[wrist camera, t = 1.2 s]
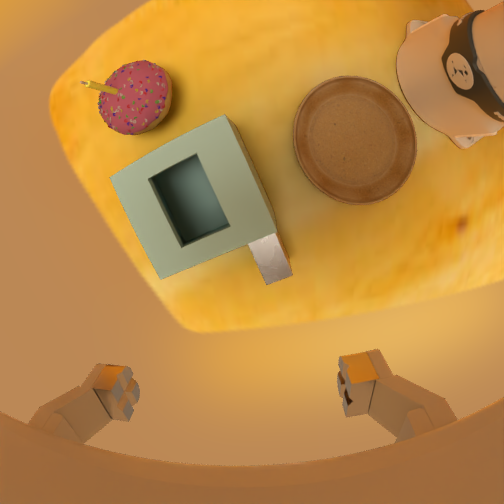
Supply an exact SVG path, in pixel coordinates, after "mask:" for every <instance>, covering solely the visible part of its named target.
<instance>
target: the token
mask: <svg viewBox="0 0 504 504" xmlns="http://www.w3.org/2000/svg"><path fill="white" fill-rule="evenodd" d="M248 246H249V248H250V250H251V252H252V255H253V257H254V259H255V261H256V263H257V265H258V268H259V270H260V272H261V274H262V276H263V278H264V281H265V283H266V285H268V284H271V283H273V282H276V281H279V280H281V279H284V278H287V277H289V276H292V275H293V274H292V269H291V265H290V260H289V257H288V255H287V252H286V250H285V248H284V245H283V243H282V240H281V238H280V236H279V233H278V231H277V232H276V233H274V234H271V235H269V236H266V237H264V238H261V239H259V240H256V241H254V242H251V243H249V244H248Z"/></svg>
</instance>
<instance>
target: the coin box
mask: <svg viewBox="0 0 504 504" xmlns="http://www.w3.org/2000/svg"><path fill="white" fill-rule="evenodd" d="M110 179H111V182H112V184H113V186H114V188H115V191H116V193H117V195H118V197H119V199H120V202H121V204H122V206H123V208H124V210H125V212H126V214H127V216H128V218H129V220H130V222H131V224H132V227H133V229H134V231H135V233H136V234H137V236H138V238H139V240H140V242H141V244H142V246H143V248H144V250H145V252H146V254H147V256H148V258H149V259H150V261H151V263H152V265H153V267H154V269H155V270H156V272H157V274H158V276H159V278H160V279H164V278H166V277H169V276H171V275H173V274H176V273H178V272H181V271H183V270H185V269H188V268H190V267H193V266H195V265H198V264H200V263H202V262H205V261H207V260H210V259H212V258H215V257H217V256H220V255H222V254H224V253H227V252H229V251H232V250H234V249H237V248H239V247H242V246H244V245H246V244H249V243H251V242H254V241H256V240H259V239H261V238H264V237H266V236H269V235H271V234H274V233H276V232H277V227H276V220H275V214H274V211H273V208H272V206H271V204H270V201H269V199H268V197H267V194H266V192H265V190H264V187H263V185H262V183H261V181H260V178H259V176H258V174H257V172H256V169H255V167H254V165H253V163H252V160H251V158H250V156H249V154H248V151H247V149H246V147H245V145H244V143H243V141H242V138H241V136H240V134H239V132H238V130H237V127H236V125H235V124H234V123H233V122H232V121H231V120H230V119H229V118H228V117H227V116H226V115H225V114H224V115H222V116H220V117H218V118H216V119H214V120H211V121H209V122H207V123H205V124H203V125H201V126H199V127H197V128H195V129H193V130H191V131H189V132H187V133H185V134H183V135H181V136H179V137H177V138H176V139H174V140H172V141H170V142H168V143H166V144H164V145H163V146H161V147H159V148H157V149H156V150H154V151H152V152H150V153H149V154H147V155H145V156H143V157H142V158H140V159H138V160H137V161H135V162H133V163H132V164H130V165H129V166H127V167H125V168H124V169H122V170H121V171H119V172H117V173H116V174H114V175H113V176H111V177H110Z"/></svg>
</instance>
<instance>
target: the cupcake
mask: <svg viewBox="0 0 504 504" xmlns="http://www.w3.org/2000/svg"><path fill="white" fill-rule="evenodd" d="M80 83H82V84H85V86H86V87H88V88H92V89H96V90H100V91H101V92H100V96H99V97H100V98H99V99H100V100H99V102H98V103H99V104H98V105H99V107H98V108H99V109H100V111H99V113H100V114H101V116H102V118H103V119H104V122H106V123H107V124H108V127H109V128H111V129H113V130H115V131H116V132H118V133H122V134H125V135H128V134H130V135H138V134H141V133H144V132H146V131H149V130H152V129H154V128H155V127H156V126H157V125H158V124H159V123H160V122H161V121H162V120H163V119H164V118H165V117H166V115H167V114H168V112H169V109H170V106H171V100H172V80H171V78H170V76H169V74H168V73H167V72H166V71H165V70H164V69H163V68H161V67H159V66H157V65H156V64H155V63H151V62H149V61H146V60H143V61H136V62H132V63H129V64H125V65H122V67H121V68H119V69H117V70H116V71H114V72H113V74H112V75H111V76H110V77H109V78H108V80H107V81H105V84H104V85H103V84H100V83H96V82H93V81H89V80H88V81H87V82H83V81H80Z"/></svg>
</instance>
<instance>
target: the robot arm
mask: <svg viewBox="0 0 504 504" xmlns="http://www.w3.org/2000/svg"><path fill="white" fill-rule="evenodd" d="M396 65H397V75H398V79H399V83H400V86H401V88H402V91H403V93H404V95H405V97H406V99H407V101H408V102H409V104H410V105H411V107H412V108H413V110H414V111H415V112H416V113H417V115H418V116H419V117H420V118H421V119H422V120H423V121H424V122H426V123H427V124H428V125H430V126H431V127H433V128H434V129H436V130H438V131H440V132H442V133H444V134H446V135H447V136H449V137H450V139H451V140H452V141H453V142H454V143H455V144H456V145H457V146H458V147H459V148H461V149H466V148H469V147H470V146H471V145H473V144H474V143H476V142H477V141H478V140H480V139H481V138H482V137H484V136H492V135H496V134H497V131H498V130H500V129H501V128H502V127H504V1H503V2H501V3H499V4H498V5H496V6H494V7H492V8H490V9H488V10H486V11H484V10H478V11H475V12H470V13H467V14H465V15H464V16H462V17H461V18H460V19H459V18H458V17H457V16H448V15H447V14H444V15H441V16H439V17H437V18H435V19H433V20H431V21H429V22H426V21H419V20H412V21H410V22H408V24H407V32H406V39H405V41H404V42H403V44H402V45H401V47H400V49H399V51H398V55H397V64H396ZM467 137H468V138H467ZM338 365H339V368H340V371H339V372H338V376H337V377H338V378H337V383H338V391H339V395H340V397H342V398H343V404H342V405H343V408H344V412H345V415H346V417H350V416H357V415H363V414H367V413H368V415H369V416H371V417H372V418H373V419H374V420H376V421H377V422H378V423H379V424H381V425H382V426H383V427H384V428H386V429H387V430H388V431H389V432H391V433H392V434H393V435H394V436H396V437H397V439H396V442H395V443H394V444H390V445H387V446H383V447H379V448H375V449H371V450H367V451H363V452H359V453H354V454H349V455H344V456H338V457H333V458H327V459H320V460H313V461H305V462H297V463H286V464H273V465H251V466H222V465H200V464H186V463H177V462H169V461H161V460H154V459H147V458H142V457H136V456H130V455H126V454H121V453H116V452H111V451H108V450H103V449H99V448H96V447H92V446H88V445H85V444H84V443H85V442H86V441H87V440H89V439H90V438H91V437H92V436H94V435H95V434H96V433H97V432H98V431H99V430H101V429H102V428H103V427H104V426H106V425H107V424H108V423H109V422H110V421H111V420H112V419H113V420H120V421H128V422H129V420H130V418H131V416H132V414H133V411H134V409H133V407H132V406H133V405H135V404H136V403H137V402H138V400H139V396H140V389H139V385H138V383H137V382H136V381H135V380H134V379H133V378H132V376H133V372H132V370H131V368H130V367H128V366H119V365H110V364H108V365H107V364H96V366H95V367H94V368H93V370H92V371H91V372H90V374H89V375H88V377H87V378H86V380H85V381H84V383H83V384H82V385H81V387H80V386H77V387H76V388H74V389H72V390H70V391H68V392H67V393H65V394H63V395H61V396H59V397H57V398H56V399H54V400H52V401H50V402H48V403H46V404H44V405H43V406H41V407H39V409H38V410H37V411H36V413H35V414H34V416H33V417H32V418H31V420H30V421H29V423H28V424H26V423H24V422H22V421H19V420H17V419H15V418H13V417H11V416H9V415H7V414H5V413H2V412H1V411H0V504H504V397H503V398H501V399H499V400H497V401H495V402H494V403H492V404H490V405H488V406H486V407H484V408H482V409H481V410H478V411H476V412H475V413H472V414H470V415H468V416H466V417H464V418H462V419H459V420H457V418H456V416H455V415H454V413H453V411H452V410H451V408H450V406H449V404H448V403H447V401H446V400H445V398H443V397H441V396H439V395H437V394H435V393H432V392H430V391H428V390H426V389H424V388H422V387H420V386H418V385H416V384H414V383H412V382H410V381H408V380H406V379H404V378H402V377H400V376H398V375H395V376H394V375H393V374H392V372H391V370H390V368H389V366H388V364H387V363H386V361H385V359H384V357H383V356H382V354H381V352H380V350H378V349H375V350H370V351H366V352H362V353H356V354H351V355H345V356H340V357H339V364H338Z"/></svg>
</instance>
